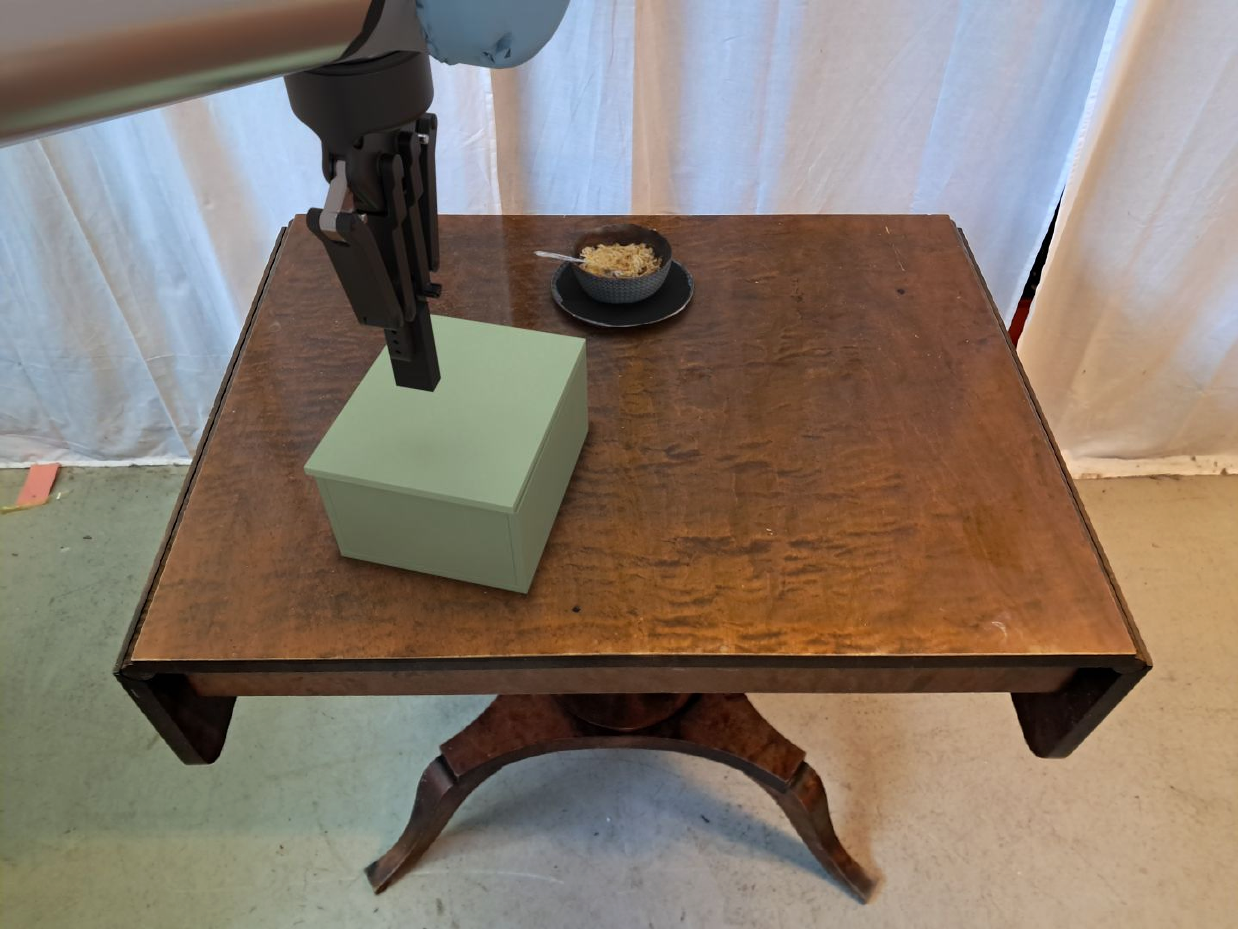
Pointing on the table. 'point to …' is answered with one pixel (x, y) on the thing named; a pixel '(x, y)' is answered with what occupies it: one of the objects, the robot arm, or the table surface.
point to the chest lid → (455, 417)
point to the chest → (465, 514)
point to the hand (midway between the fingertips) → (418, 381)
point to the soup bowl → (620, 277)
